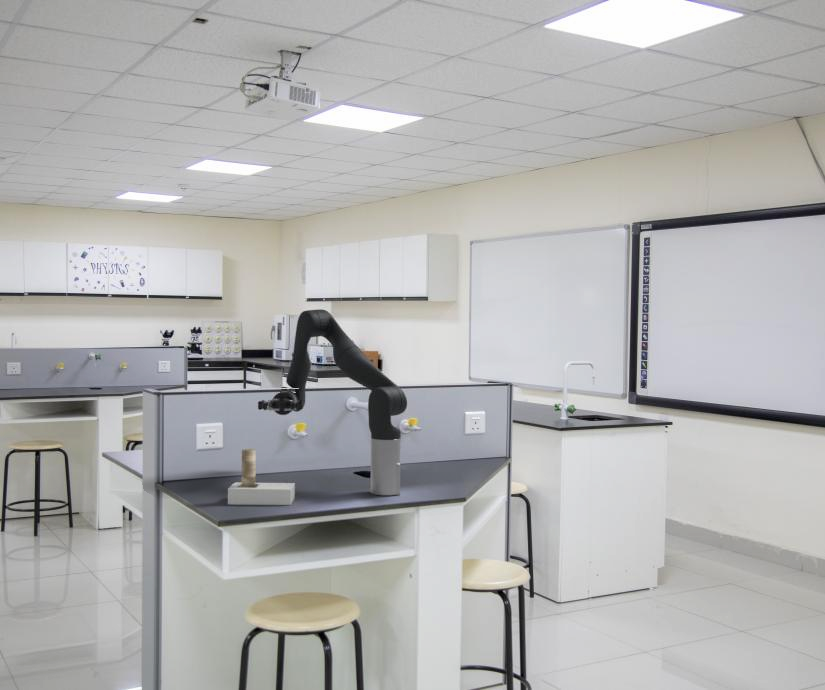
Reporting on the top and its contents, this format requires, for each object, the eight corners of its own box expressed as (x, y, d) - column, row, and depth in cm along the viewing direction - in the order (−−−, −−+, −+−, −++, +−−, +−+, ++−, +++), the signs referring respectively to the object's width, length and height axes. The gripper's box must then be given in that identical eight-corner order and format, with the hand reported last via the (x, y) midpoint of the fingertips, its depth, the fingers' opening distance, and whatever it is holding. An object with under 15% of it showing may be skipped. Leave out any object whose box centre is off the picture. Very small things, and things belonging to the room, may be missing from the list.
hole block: (294, 498, 253) (294, 483, 253) (290, 505, 243) (290, 489, 243) (234, 497, 253) (234, 482, 253) (227, 504, 243) (227, 488, 243)
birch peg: (256, 499, 250) (256, 449, 250) (253, 502, 246) (254, 451, 246) (242, 499, 250) (243, 449, 250) (240, 502, 246) (240, 451, 246)
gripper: (263, 391, 283) (255, 394, 266) (305, 391, 283) (300, 394, 267) (263, 414, 283) (255, 418, 266) (305, 413, 283) (300, 418, 267)
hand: (278, 406), depth 267 cm, fingers open, 8 cm apart
